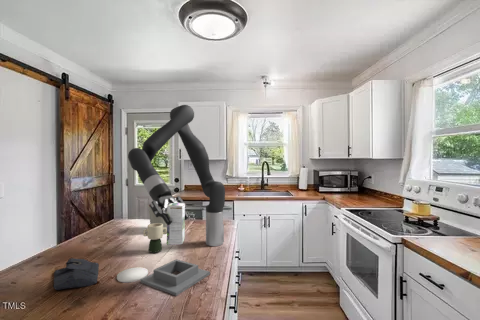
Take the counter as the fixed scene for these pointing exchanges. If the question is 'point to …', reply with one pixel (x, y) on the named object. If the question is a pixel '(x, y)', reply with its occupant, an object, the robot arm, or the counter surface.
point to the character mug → (155, 236)
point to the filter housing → (175, 277)
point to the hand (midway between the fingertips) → (178, 221)
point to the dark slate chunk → (76, 274)
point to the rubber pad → (132, 275)
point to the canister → (156, 218)
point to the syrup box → (176, 223)
